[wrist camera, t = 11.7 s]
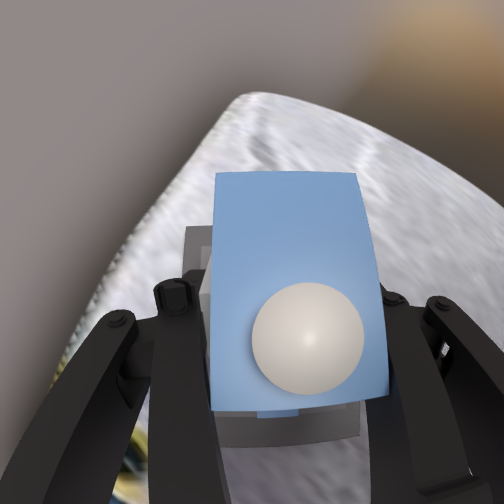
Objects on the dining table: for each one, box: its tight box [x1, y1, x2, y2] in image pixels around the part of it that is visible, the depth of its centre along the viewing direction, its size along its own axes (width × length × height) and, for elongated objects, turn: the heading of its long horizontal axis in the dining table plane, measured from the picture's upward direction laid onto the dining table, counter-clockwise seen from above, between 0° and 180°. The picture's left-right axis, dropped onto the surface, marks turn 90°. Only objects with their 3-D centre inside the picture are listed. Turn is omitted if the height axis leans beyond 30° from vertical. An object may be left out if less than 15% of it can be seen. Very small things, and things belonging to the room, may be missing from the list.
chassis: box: [182, 225, 360, 448], centre depth 17 cm, size 16×12×4 cm
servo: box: [210, 171, 389, 418], centre depth 11 cm, size 10×4×12 cm, turn 1°
